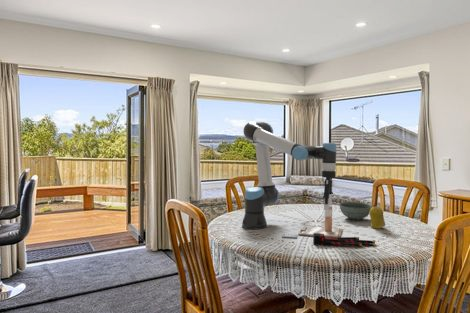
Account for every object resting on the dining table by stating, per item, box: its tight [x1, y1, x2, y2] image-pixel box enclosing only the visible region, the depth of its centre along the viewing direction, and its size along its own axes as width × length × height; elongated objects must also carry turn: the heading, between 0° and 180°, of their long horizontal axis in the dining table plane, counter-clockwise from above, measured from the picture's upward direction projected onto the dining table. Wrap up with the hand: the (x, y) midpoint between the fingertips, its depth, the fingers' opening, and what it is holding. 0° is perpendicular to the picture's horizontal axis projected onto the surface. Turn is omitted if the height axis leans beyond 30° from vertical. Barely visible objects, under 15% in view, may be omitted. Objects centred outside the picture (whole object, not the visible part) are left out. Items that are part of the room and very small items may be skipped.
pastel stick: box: [324, 205, 333, 232], centre depth 193 cm, size 4×4×14 cm
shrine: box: [368, 204, 386, 230], centre depth 202 cm, size 12×8×15 cm
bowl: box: [338, 201, 373, 222], centre depth 227 cm, size 21×21×10 cm
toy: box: [312, 233, 377, 248], centre depth 171 cm, size 8×5×30 cm
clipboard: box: [297, 225, 343, 238], centre depth 194 cm, size 22×20×2 cm
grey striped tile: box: [281, 233, 298, 239], centre depth 187 cm, size 8×6×1 cm
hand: (327, 207), depth 193 cm, fingers open, 13 cm apart
